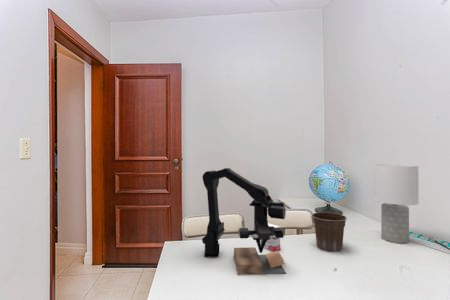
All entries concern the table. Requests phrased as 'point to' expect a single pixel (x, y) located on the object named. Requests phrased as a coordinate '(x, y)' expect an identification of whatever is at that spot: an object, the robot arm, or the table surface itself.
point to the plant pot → (329, 230)
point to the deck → (247, 261)
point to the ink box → (273, 241)
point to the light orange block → (274, 259)
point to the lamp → (395, 198)
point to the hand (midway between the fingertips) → (260, 252)
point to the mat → (268, 269)
